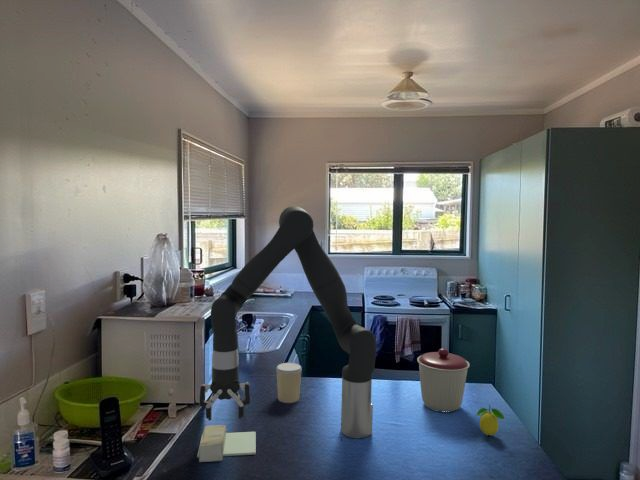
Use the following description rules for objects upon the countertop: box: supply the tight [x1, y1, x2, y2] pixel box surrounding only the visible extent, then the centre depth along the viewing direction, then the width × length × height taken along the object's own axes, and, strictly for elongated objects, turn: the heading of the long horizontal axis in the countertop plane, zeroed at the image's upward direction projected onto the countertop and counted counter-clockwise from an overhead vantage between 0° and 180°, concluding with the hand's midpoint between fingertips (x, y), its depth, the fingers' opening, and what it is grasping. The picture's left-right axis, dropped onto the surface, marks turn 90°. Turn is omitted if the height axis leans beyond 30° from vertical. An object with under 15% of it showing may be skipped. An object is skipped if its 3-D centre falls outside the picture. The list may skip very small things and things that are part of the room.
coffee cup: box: [275, 362, 303, 404], centre depth 162 cm, size 9×9×12 cm
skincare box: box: [198, 424, 227, 463], centre depth 125 cm, size 6×4×12 cm
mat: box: [196, 431, 257, 459], centre depth 129 cm, size 16×12×1 cm
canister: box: [416, 347, 471, 413], centre depth 158 cm, size 18×18×21 cm
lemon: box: [476, 404, 505, 436], centre depth 137 cm, size 7×6×10 cm
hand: (225, 418), depth 128 cm, fingers open, 8 cm apart
